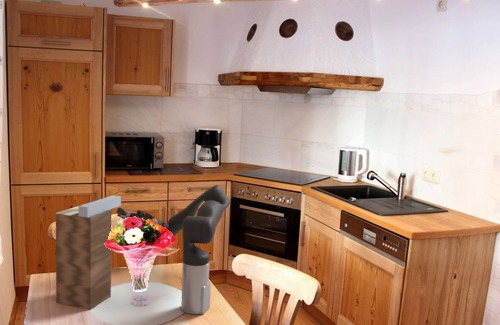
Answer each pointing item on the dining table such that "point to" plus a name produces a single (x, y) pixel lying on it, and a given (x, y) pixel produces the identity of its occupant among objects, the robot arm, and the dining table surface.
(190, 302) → the robot arm
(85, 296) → the wooden block
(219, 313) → the dining table surface
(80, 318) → the dining table surface
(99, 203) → the lever
